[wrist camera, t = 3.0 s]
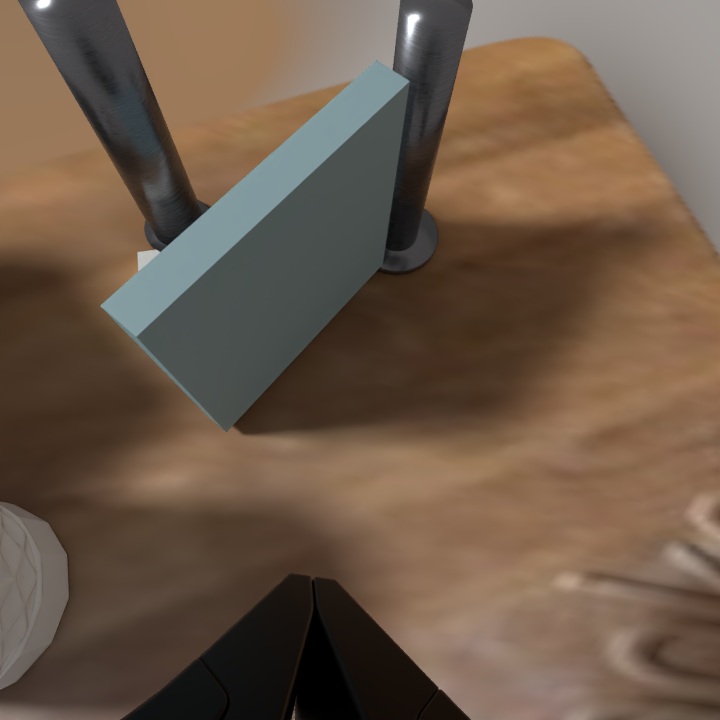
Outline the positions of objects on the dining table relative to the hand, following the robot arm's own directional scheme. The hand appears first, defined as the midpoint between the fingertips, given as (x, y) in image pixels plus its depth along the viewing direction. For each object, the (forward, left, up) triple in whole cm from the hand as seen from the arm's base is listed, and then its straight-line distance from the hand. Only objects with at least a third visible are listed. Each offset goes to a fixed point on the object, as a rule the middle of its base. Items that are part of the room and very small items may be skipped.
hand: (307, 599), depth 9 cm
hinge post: (+4, -15, -11) cm, 19 cm away
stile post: (+13, -10, -11) cm, 20 cm away
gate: (+6, -8, -11) cm, 15 cm away
